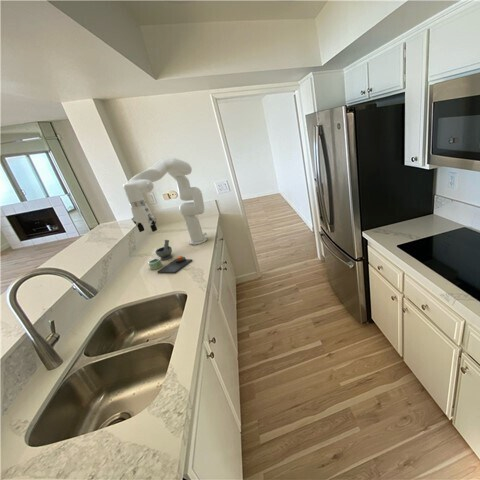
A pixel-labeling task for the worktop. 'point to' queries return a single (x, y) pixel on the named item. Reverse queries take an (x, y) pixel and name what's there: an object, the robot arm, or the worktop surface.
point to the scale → (175, 266)
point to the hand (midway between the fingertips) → (148, 231)
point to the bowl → (155, 264)
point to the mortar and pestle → (164, 251)
